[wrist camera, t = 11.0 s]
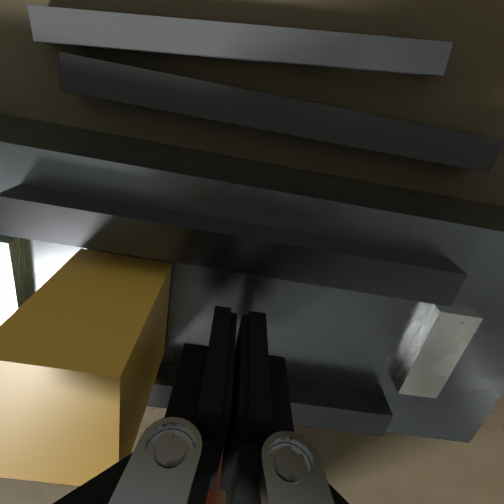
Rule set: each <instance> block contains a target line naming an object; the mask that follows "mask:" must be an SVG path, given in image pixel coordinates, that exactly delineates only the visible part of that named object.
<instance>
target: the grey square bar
mask: <svg viewBox="0 0 504 504" xmlns="http://www.w3.org/2000/svg"><path fill="white" fill-rule="evenodd" d="M27 7H28V13H29V19H30V24H31V30H32V36H33V41H37V42H42V43H47V44H56V45H68V46H79V47H91V48H103V49H115V50H127V51H138V52H150V53H162V54H174V55H186V56H197V57H209V58H221V59H233V60H244V61H256V62H268V63H280V64H292V65H303V66H315V67H327V68H339V69H351V70H362V71H374V72H386V73H398V74H409V75H421V76H444V74H445V70H446V66H447V63H448V59H449V56H450V52H451V49H452V45H453V42H446V41H435V40H423V39H412V38H401V37H389V36H378V35H366V34H355V33H344V32H332V31H321V30H309V29H298V28H287V27H275V26H264V25H253V24H241V23H230V22H218V21H207V20H196V19H184V18H173V17H161V16H150V15H139V14H127V13H116V12H105V11H93V10H82V9H70V8H59V7H48V6H36V5H27Z"/></svg>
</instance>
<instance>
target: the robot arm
mask: <svg viewBox="0 0 504 504" xmlns="http://www.w3.org/2000/svg"><path fill="white" fill-rule="evenodd" d="M231 309H232V308H229V307H222V306H216V305H215V310H214V316H213V322H212V328H211V334H210V340H209V346H204V345H197V344H190V343H184V346H183V349H182V353H181V357H180V361H179V365H178V368H177V372H176V376H175V380H174V384H173V388H172V391H171V395H170V399H169V403H168V407H167V411H166V414H165V418H162V419H160V420H158V421H156V422H154V423H152V424H151V425H150V426H149V427H148V428H146V430H145V431H144V433H143V434H142V436H141V437H140V439H139V441H138V443H137V446H136V448H135V450H134V452H133V453H131V454H130V455H128V456H126V457H125V458H123V459H122V460H120V461H119V462H117V463H115V464H114V465H112V466H111V467H109V468H108V469H106V470H105V471H103V472H101V473H100V474H98V475H97V476H95V477H94V478H92V479H91V480H89V481H87V482H86V483H84V484H83V485H81V486H80V487H78V488H76V489H75V490H73V491H72V492H70V493H69V494H67V495H66V496H64V497H62V498H61V499H59V500H58V501H56V502H55V503H53V504H206V499H207V495H208V490H209V489H214V486H215V481H216V477H217V473H218V468H219V464H220V460H221V455H222V463H221V475H220V490H222V491H227V493H226V504H349V503H348V502H347V501H346V500H345V499H344V498H343V497H342V496H341V495H340V494H339V493H338V492H337V491H336V490H335V489H334V488H333V487H332V486H331V485H330V484H329V483H328V482H327V479H326V476H325V473H324V470H323V466H322V463H321V460H320V457H319V455H318V453H317V451H316V449H315V448H314V447H313V445H312V444H311V443H310V442H309V441H308V440H307V439H305V438H304V437H303V436H301V435H299V434H297V433H294V428H293V420H292V411H291V403H290V395H289V386H288V378H287V369H286V362H285V358H284V357H281V356H274V355H268V338H267V321H266V313H262V312H255V311H249V313H248V315H245V314H242V317H241V321H240V326H239V331H238V335H237V340H236V327H237V313H232V312H231ZM235 343H236V345H235Z"/></svg>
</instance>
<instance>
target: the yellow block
mask: <svg viewBox="0 0 504 504" xmlns="http://www.w3.org/2000/svg"><path fill="white" fill-rule="evenodd" d="M171 270H172V263H169V262H162V261H156V260H150V259H144V258H137V257H131V256H125V255H119V254H112V253H106V252H100V251H94V250H87V249H80V250H79V251H78V252H77V253H76V254H75V255H74V256H73V257H72V258H71V259H70V260H68V261H67V262H66V263H65V264H64V265H63V266H62V267H61V268H60V269H59V270H58V271H57V272H56V273H55V274H54V275H53V276H52V277H51V278H50V279H49V280H47V281H46V282H45V283H44V284H43V285H42V286H41V287H40V288H39V289H38V290H37V291H36V292H35V293H34V294H33V295H32V296H31V297H30V298H29V299H28V300H27V301H25V302H24V303H23V304H22V305H21V306H20V307H19V308H18V309H17V310H16V311H15V312H14V313H13V314H12V315H11V316H10V317H9V318H8V319H7V320H6V321H4V322H3V323H2V324H1V325H0V477H2V478H12V479H21V480H30V481H39V482H48V483H57V484H66V485H75V486H81V485H83V484H84V483H86V482H87V481H89V480H91V479H92V478H94V477H95V476H97V475H98V474H100V473H101V472H103V471H105V470H106V469H108V468H109V467H111V466H112V465H114V464H115V463H117V462H119V461H120V460H122V459H123V458H125V457H126V456H128V455H130V454H131V451H132V448H133V445H134V442H135V439H136V436H137V433H138V430H139V427H140V424H141V421H142V418H143V415H144V412H145V409H146V406H147V403H148V400H149V397H150V394H151V391H152V388H153V385H154V382H155V379H156V376H157V373H158V370H159V367H160V364H161V361H162V358H163V355H164V348H165V337H166V326H167V315H168V304H169V292H170V281H171Z"/></svg>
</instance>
